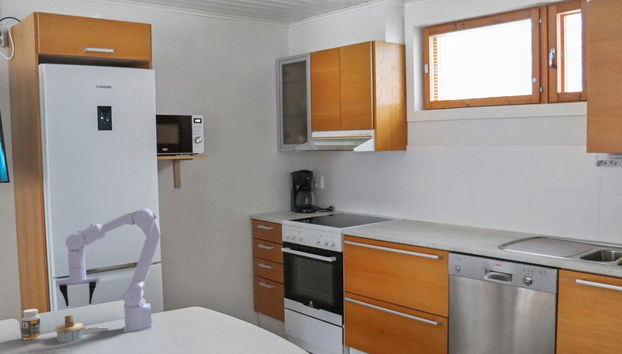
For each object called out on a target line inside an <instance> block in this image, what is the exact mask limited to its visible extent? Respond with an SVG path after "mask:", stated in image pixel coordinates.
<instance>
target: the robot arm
mask: <svg viewBox="0 0 622 354" xmlns="http://www.w3.org/2000/svg"><path fill="white" fill-rule="evenodd" d="M125 225H129V226H133V225H136V226H137V227H138V228H139V229H140V230H142V232H143V235H144V236H145V240H144V244H143V247H142V248H141V252H140V254H139V255H140V256H139V257H138V261H137V264H136V268H135V271H134V273H133V276H132V280H131V282H130V283H129V286H128V288H127V290H126V291H125V292H124V293H123V297H122V298H123V302H124V304H123V308H124V309H123V310H124V311H123V312H124V326H123V332H124V333H128V332H129V333H130V332H137V331H138V332H139V331H146V330H148V331H149V330H152V329H153V328H152V324H153V320H152V319H153V318H152V306H151V303H148V302H147V303H146V301H144V299H143V297H144V296H145V284H146V280H147V278H148V274H149V271H150V267H151V265H152V263H153V259H154V256H155V253H156V250H157V247H158V244H159V241H160V237H161V229H160V226H159V223H158V217H157V216H156V215H155V213H154V212H153V210H152V209H150V208H148V207H142V208H140V209H139V210H134V211H129V212H127V213H125V214H123V215H120V216H118V217H116V218H114V219H112V220H110V221H108V222H106V223H103V224H101V223H91V224H89V226H88V227H85V228H84V229H82V230H81V229H78V230H77V232H75V233H71V235H68V236H67V238H66V239H65V246H66V247H67V253H68V254H67V259H68V260H67V264H68V278H67V279H59V280H55V287H56V288H58V289H59V291H60V293H61V295H62V296H63V299H64V301H65V302H64V303H65V306H66V307H69V296H68V295H69V293H68V286H77V285H84V284H86V285H87V284H88V291H89V293H88V294H89V295H88V297H89V298H88V299H89V300H88V303H89V304H88V305H91V304H92V299H93V295H94V292H95V289H96V286H97V284H100V276H87V270H86V269H87V266H86V265H87V264H86V253H85V246H89V245H92V244H93V243H95V242H97V241H99V240H101V239H104V238H105V236H106V234H107V233H109V232H111V231H113V230H115V229H118V228H120V227H122V226H125Z"/></svg>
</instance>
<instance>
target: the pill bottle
mask: <svg viewBox="0 0 622 354" xmlns="http://www.w3.org/2000/svg"><path fill="white" fill-rule="evenodd" d="M38 313H39V310H38V309H37V308H30V309H26V310H23V311H22V314H23V317H22V318H21V326H22V327H21V331H22V340H24V338H25V339H26V340H25V341H32V340H36V339H39V338H40V337H41V319H40V318H41V317H40V316H39V314H38ZM35 338H36V339H35ZM31 339H32V340H31Z"/></svg>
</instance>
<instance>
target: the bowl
mask: <svg viewBox="0 0 622 354" xmlns="http://www.w3.org/2000/svg"><path fill="white" fill-rule="evenodd" d="M56 339H57V341H58V342H59V343H70V342H75V341H79V340H82V339H83V335H82V329H80V330H77V331H72V332H56Z"/></svg>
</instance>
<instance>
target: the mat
mask: <svg viewBox="0 0 622 354" xmlns="http://www.w3.org/2000/svg"><path fill="white" fill-rule="evenodd" d="M91 327H92V328H88V329H86V328H87V327H83V328H82V336H84V335H86V336H87V335H95V334H103V333H108V332H109V327H108V328H97V327H96V326H91ZM93 327H94V328H93ZM95 327H96V328H95Z"/></svg>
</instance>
